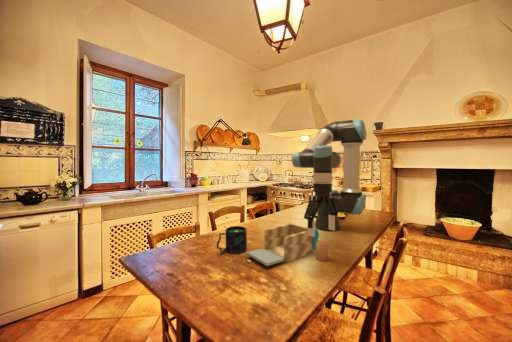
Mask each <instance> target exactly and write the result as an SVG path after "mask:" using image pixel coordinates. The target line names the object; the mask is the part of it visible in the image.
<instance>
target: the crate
mask: <svg viewBox="0 0 512 342" xmlns="http://www.w3.org/2000/svg"><path fill="white" fill-rule="evenodd" d="M264 249H266V250H268V251H270V252H273V253H275V254H277V255H279V256H281V257H283V258H285V261H283V262H284V263H289V262H292V261H294V260H297V259H300V258H301V257H305V256H307V255H310V254H312V253H314V252H313V251H314V249H313V236H310V235H308V227H304V226H300V225H297V224H294V223H287V224H283V225H279V226H275V227H271V228H267V229H264Z"/></svg>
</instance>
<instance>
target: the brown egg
mask: <svg viewBox="0 0 512 342" xmlns="http://www.w3.org/2000/svg"><path fill="white" fill-rule="evenodd" d="M315 260H316V261H318V262H321V263H322V262H323V263H325V262H328V261H329V242H327V241H324V240H318V241H317V242H316V249H315Z"/></svg>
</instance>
